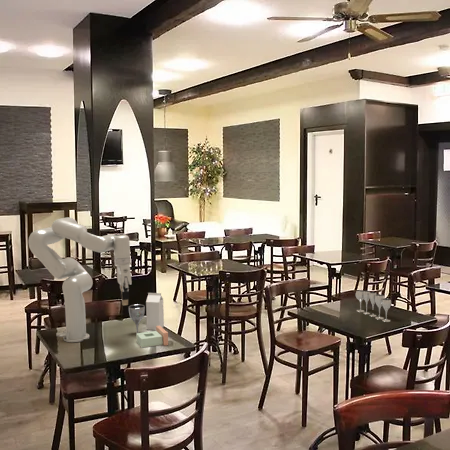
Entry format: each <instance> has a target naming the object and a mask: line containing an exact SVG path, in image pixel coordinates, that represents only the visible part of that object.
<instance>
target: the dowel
mask: <svg viewBox="0 0 450 450" xmlns="http://www.w3.org/2000/svg"><path fill="white" fill-rule="evenodd" d="M124 285H125V284H124ZM121 292H123V291H122V285H121ZM121 303H122V304H121V305H122V306H128V305H129V299H128V300H122V299H121Z"/></svg>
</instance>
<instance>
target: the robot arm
mask: <svg viewBox="0 0 450 450" xmlns="http://www.w3.org/2000/svg"><path fill="white" fill-rule="evenodd" d="M64 239H68V240H71V241H73V242H76V243H78V244H79V245H81V246H82V248H84V249H87V250H89V251H93V252H96V253H99V254H100V253H105V252H109V251H113V256H114V257H113V258H114V266H116V277H117V283H118V284H119V289H120V290H119V294H120V295H119V296H120V299H121V301H122V300H128V301H129V300H130V292H129V290H130V289H129V285H132V282H133V281H132V272H131V266H130V265H131V248H130V247H131V246H130V244H131V243H130V237H129V236H128V235H125V234H122V235H119V234H118V235H115V234H107V235H102V236H99V235H95V234H92V233H90V232H88V229H87V227H86V226H85V225H83V224H79V223H78V222H77V220H76V219H74V218H73V217H71V216H70V217H61V218H57V219H55V220H54V221H53V222H52V223H51V226H49V227H43V228H38V229H36V230H34V231H31V233H30V235H29V237H28V247H29V250H30V251H31V253H32V254H33V255H34V256H35V258H36V259H38V260H39V262H41V264H42V265H43V266H44V267H45V269H46V270H48V272H49V273H50V274H51V276H53V277H54V278H55V279H57V280H63V279H65V280H64V281H63V282H62V287H61V288H62V293H63V299H64V309H65V312H64V313H65V329H64V331H62V332H60V331H59V332H56V338H58V337H59V338H63V341H64V342H66V343H80V342H84V340H88V339H90V334H89V333H87V324H86V323H87V322H86V321H87V320H86V317H87V316H86V301H85V298H84V296H83V293H85V292H88V291H89V290H91V288H92V287H93V284H94V283H93V282H94V281H93V278H92V276H91V275H90V274H89V273H88V271H87V270H86V269H85V268H84V266H82V264H80V263H79V261H77V260H76V259H75V258H73V257H66V258H63V257H61V256H60V254H59V253H57V252H56V251H55V250H54V249H53V248H51V247H50V246H48V245H52V244H56V243H58V242H60V241H61V240H64ZM124 284H125V285H124ZM121 285H122V291H123V292H121Z"/></svg>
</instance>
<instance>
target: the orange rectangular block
mask: <svg viewBox="0 0 450 450" xmlns="http://www.w3.org/2000/svg"><path fill="white" fill-rule="evenodd" d="M155 331H157V332H158V333H159V334H160V335H161V336H162V341H163V345H162V346H168V345H169V332H168V331H166V330H165V328H164V327H163V328H162V327H161V326H156V330H155Z"/></svg>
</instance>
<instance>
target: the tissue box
mask: <svg viewBox="0 0 450 450" xmlns="http://www.w3.org/2000/svg"><path fill="white" fill-rule="evenodd" d="M135 336H136V338H135V339H136V343H137V344H138V346H140V347H141V348H148V347H156V346H164V345H163V341H162V336H161V335H160V334H159V333H158V332H157V331H156V330H151V331H143V332H138V333H137V332H135Z"/></svg>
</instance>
